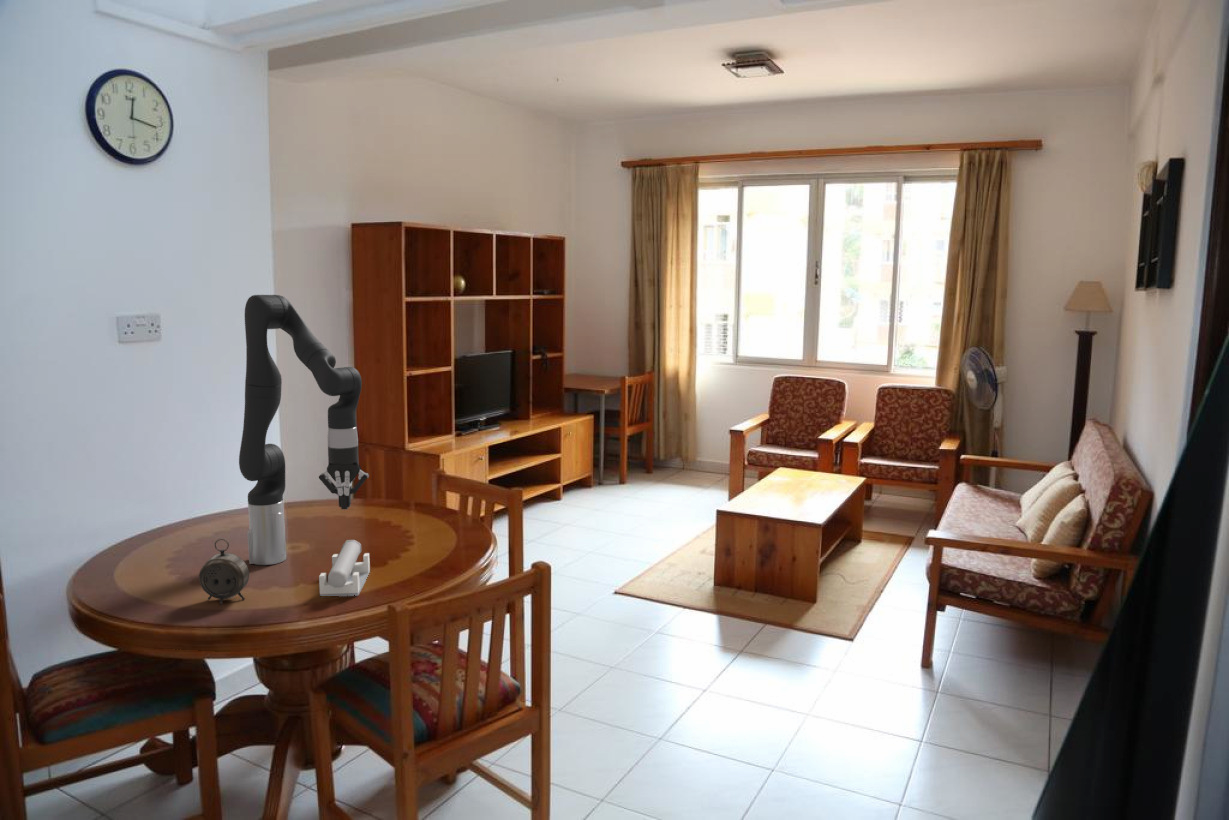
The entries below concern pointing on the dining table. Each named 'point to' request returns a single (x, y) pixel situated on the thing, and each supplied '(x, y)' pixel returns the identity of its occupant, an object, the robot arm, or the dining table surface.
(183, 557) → the dining table surface
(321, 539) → the dining table surface
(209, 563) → the alarm clock
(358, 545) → the tube
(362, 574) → the cradle
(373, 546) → the dining table surface
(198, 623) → the dining table surface
